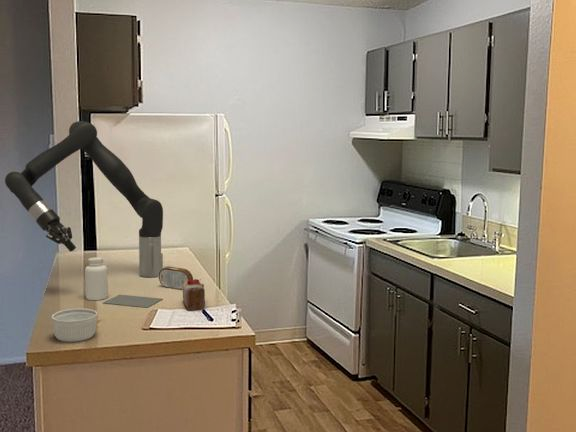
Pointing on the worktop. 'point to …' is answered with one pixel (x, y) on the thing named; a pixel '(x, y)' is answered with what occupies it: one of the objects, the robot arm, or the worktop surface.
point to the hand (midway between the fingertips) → (73, 249)
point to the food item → (194, 295)
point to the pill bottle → (96, 279)
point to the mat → (133, 301)
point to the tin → (174, 277)
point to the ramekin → (74, 324)
